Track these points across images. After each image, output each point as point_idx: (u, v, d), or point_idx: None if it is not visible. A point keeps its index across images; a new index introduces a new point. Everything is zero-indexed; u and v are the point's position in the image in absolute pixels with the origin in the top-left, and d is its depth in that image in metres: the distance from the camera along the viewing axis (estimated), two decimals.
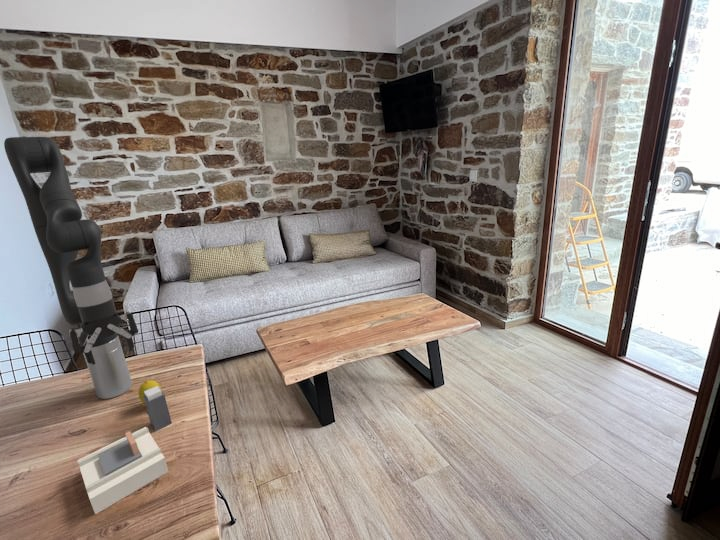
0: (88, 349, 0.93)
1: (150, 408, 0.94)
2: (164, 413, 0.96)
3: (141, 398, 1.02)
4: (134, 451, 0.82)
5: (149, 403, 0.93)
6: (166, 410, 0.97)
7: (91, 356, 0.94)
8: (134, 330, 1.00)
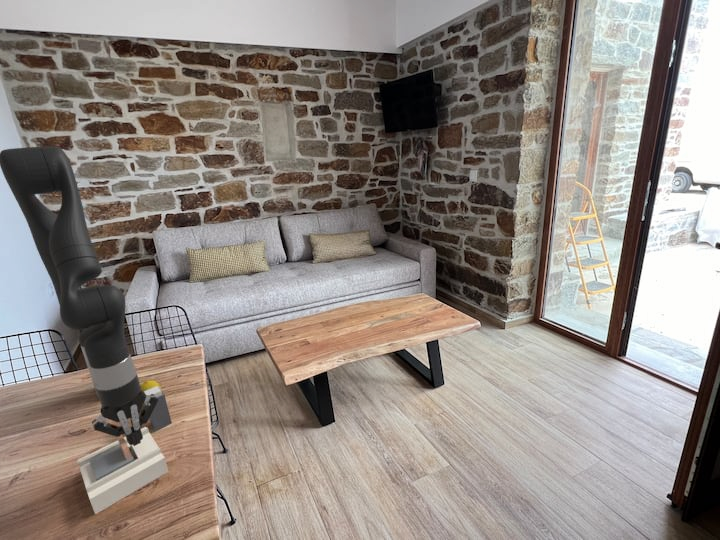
0: (130, 430, 0.81)
1: None
2: (164, 413, 0.96)
3: None
4: (126, 455, 0.81)
5: None
6: (166, 410, 0.97)
7: (133, 437, 0.82)
8: (143, 420, 0.83)
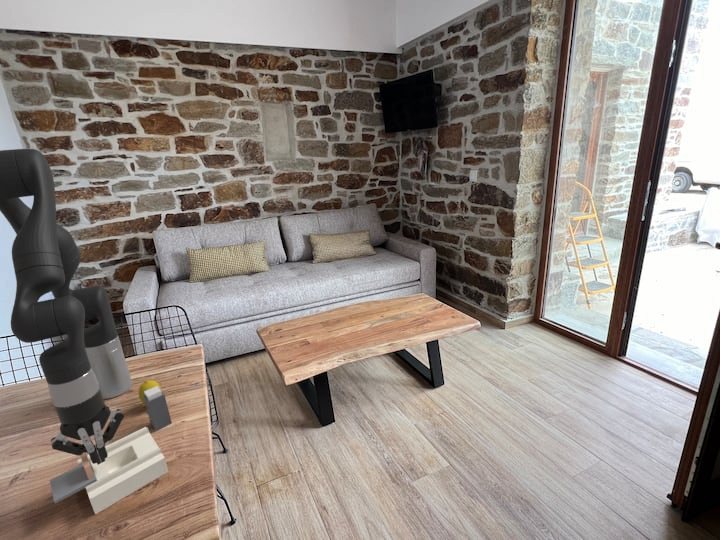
0: (93, 448, 0.77)
1: (150, 408, 0.94)
2: (164, 413, 0.96)
3: (141, 398, 1.02)
4: (88, 475, 0.76)
5: (149, 403, 0.93)
6: (166, 410, 0.97)
7: (96, 455, 0.78)
8: (107, 437, 0.78)
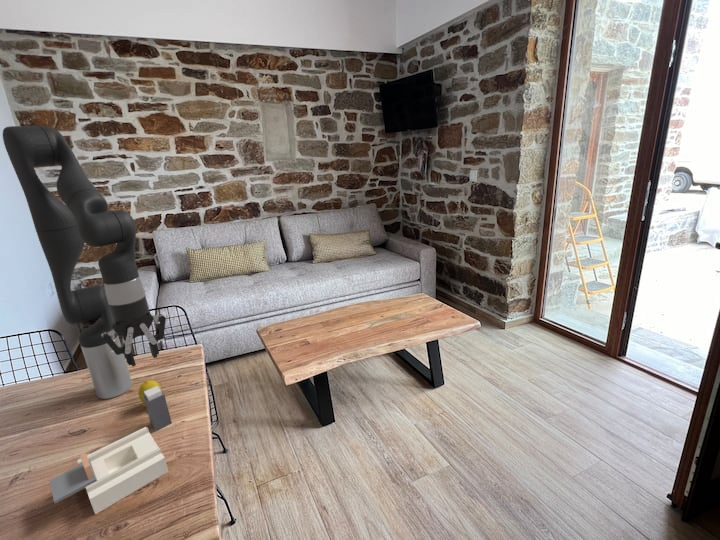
0: (129, 350, 0.88)
1: (150, 408, 0.94)
2: (164, 413, 0.96)
3: (141, 398, 1.02)
4: (88, 475, 0.76)
5: (149, 403, 0.93)
6: (166, 410, 0.97)
7: (132, 357, 0.89)
8: (159, 336, 0.92)
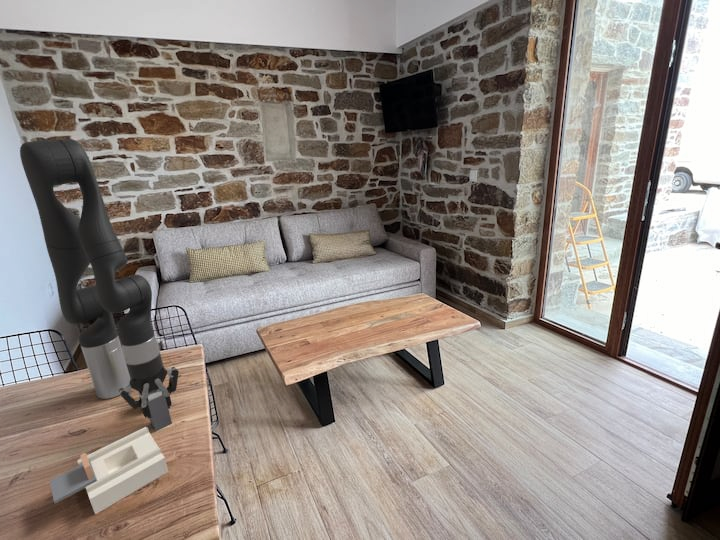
0: (145, 404, 0.93)
1: (150, 408, 0.94)
2: (164, 413, 0.96)
3: None
4: (88, 475, 0.76)
5: (149, 403, 0.93)
6: (166, 410, 0.97)
7: (148, 410, 0.94)
8: (172, 388, 0.97)
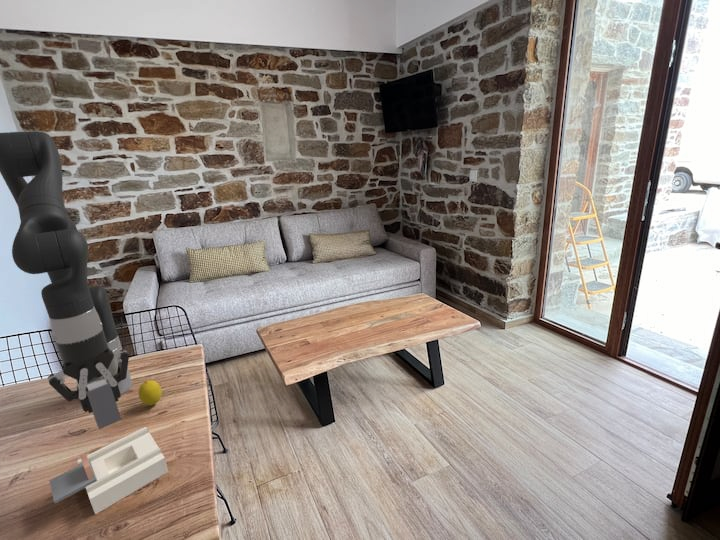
0: (84, 395, 0.74)
1: (91, 400, 0.74)
2: (110, 406, 0.77)
3: (141, 398, 1.02)
4: (88, 475, 0.76)
5: (89, 394, 0.74)
6: (113, 403, 0.77)
7: (88, 403, 0.75)
8: (121, 376, 0.78)
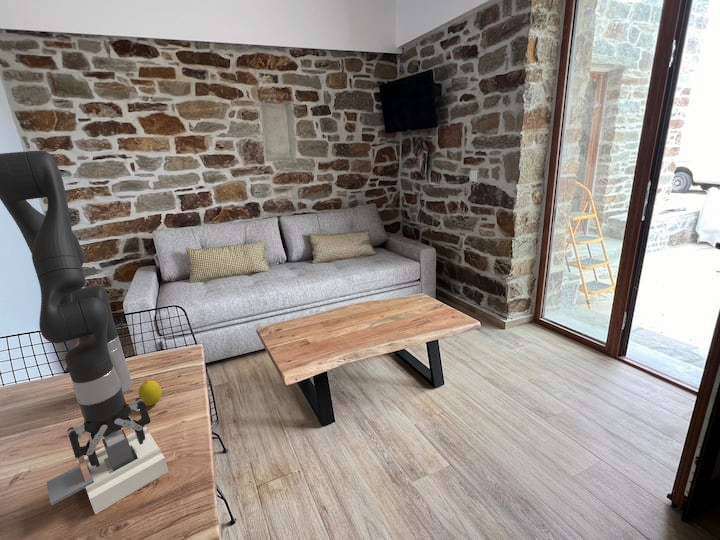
0: (91, 451, 0.77)
1: (110, 456, 0.79)
2: (128, 459, 0.82)
3: (141, 398, 1.02)
4: (85, 477, 0.76)
5: (108, 450, 0.78)
6: (130, 456, 0.82)
7: (95, 458, 0.78)
8: (146, 420, 0.83)
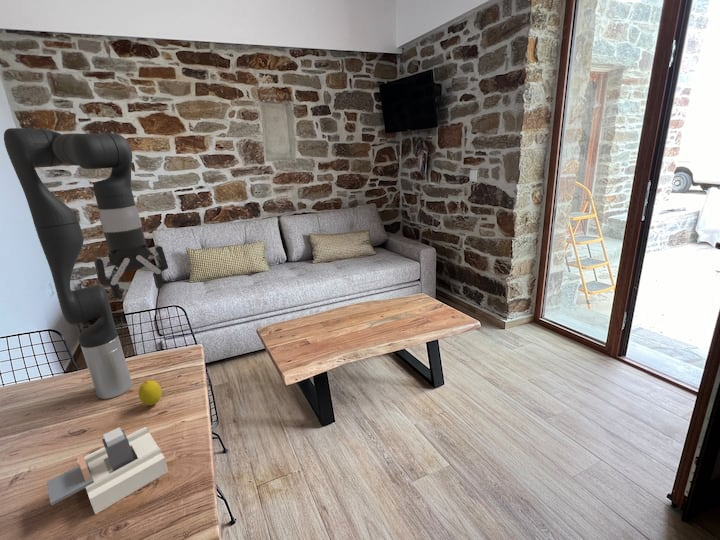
0: (115, 281, 0.84)
1: (110, 456, 0.79)
2: (128, 459, 0.82)
3: (141, 398, 1.02)
4: (85, 477, 0.76)
5: (108, 450, 0.78)
6: (130, 456, 0.82)
7: (118, 290, 0.85)
8: (164, 265, 0.91)
